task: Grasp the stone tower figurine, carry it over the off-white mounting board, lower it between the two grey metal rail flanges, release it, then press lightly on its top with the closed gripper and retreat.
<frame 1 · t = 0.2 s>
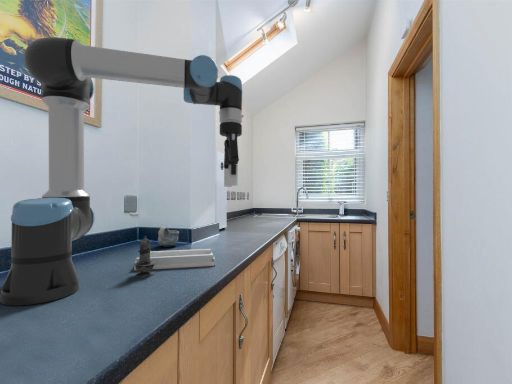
hand: (230, 186, 92), 28 cm above the counter, fingers open, 13 cm apart
stone tower figurine: (144, 275, 83), on the counter
mug: (167, 247, 128), on the counter
rail board: (176, 263, 97), on the counter
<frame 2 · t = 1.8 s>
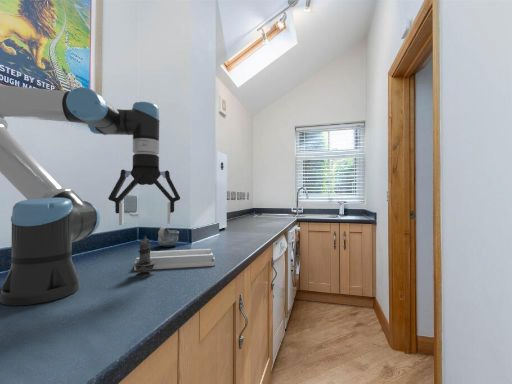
hand: (145, 224, 83), 16 cm above the counter, fingers open, 13 cm apart
nothing on the counter moved.
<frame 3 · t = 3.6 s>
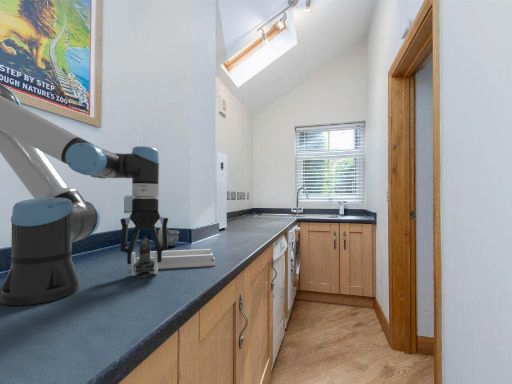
hand: (144, 273, 83), 0 cm above the counter, fingers closed on stone tower figurine, 6 cm apart
stone tower figurine: (144, 275, 83), on the counter, touching gripper
everything else where it was.
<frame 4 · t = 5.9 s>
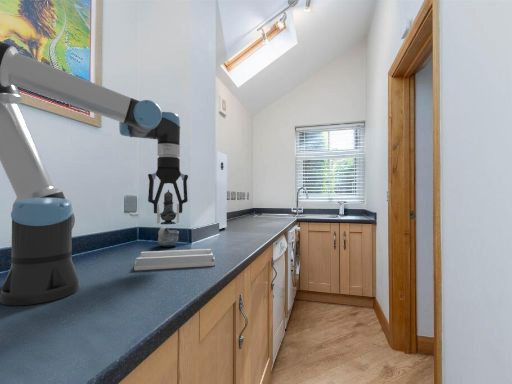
hand: (168, 222, 96), 15 cm above the counter, fingers closed on stone tower figurine, 6 cm apart
stone tower figurine: (168, 224, 96), point 14 cm above the counter, touching gripper
everything else where it was.
when the fingers open (3 cm above the counter, at t = 8.3 s): stone tower figurine drops 1 cm, resting on rail board.
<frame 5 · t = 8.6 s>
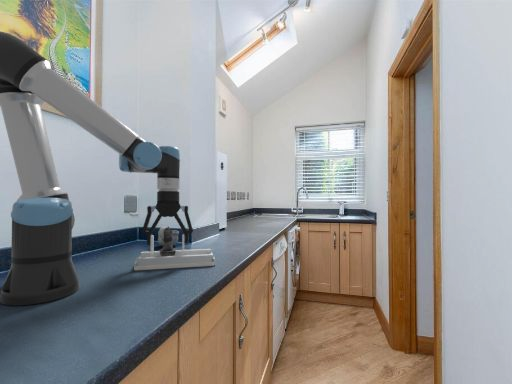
hand: (167, 253, 96), 4 cm above the counter, fingers open, 10 cm apart
stone tower figurine: (167, 261, 96), point 1 cm above the counter, touching rail board
everything else where it was.
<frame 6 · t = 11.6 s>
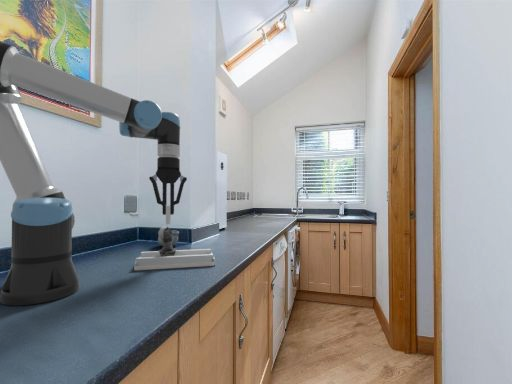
hand: (168, 223, 96), 14 cm above the counter, fingers closed
nothing on the counter moved.
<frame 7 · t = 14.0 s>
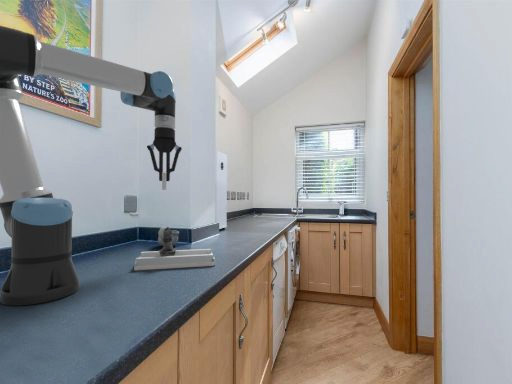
hand: (164, 189, 105), 26 cm above the counter, fingers closed
nothing on the counter moved.
at the end: stone tower figurine inside the target area on the rail board (3.1 cm from its centre), point 1.0 cm above the rail board's base; stone tower figurine tilted 0°; the gripper is holding nothing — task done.
